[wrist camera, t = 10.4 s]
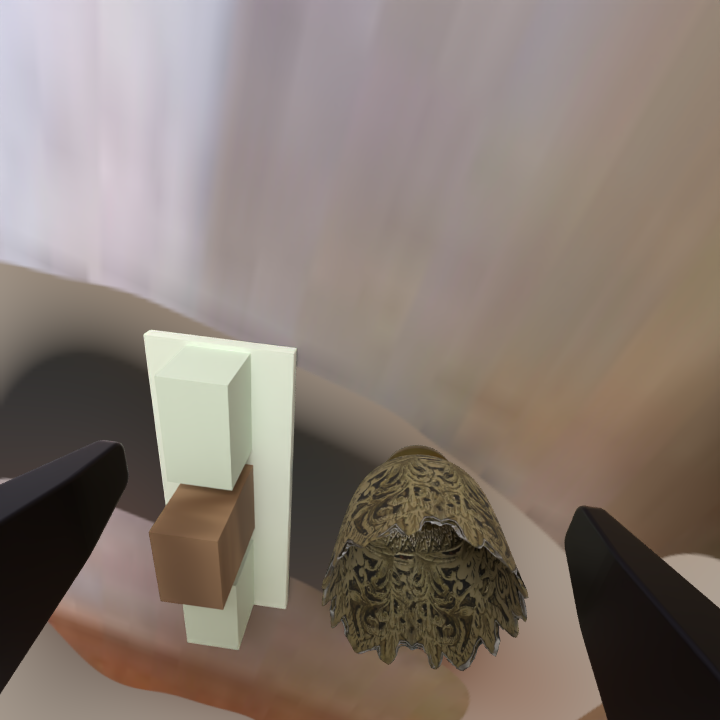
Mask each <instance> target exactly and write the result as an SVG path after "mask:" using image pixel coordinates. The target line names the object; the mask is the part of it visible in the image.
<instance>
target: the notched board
mask: <svg viewBox="0 0 720 720" xmlns="http://www.w3.org/2000/svg"><path fill="white" fill-rule="evenodd" d="M144 342H145V350H146V358H147V365H148V373H149V381H150V389H151V395H152V404H153V411H154V419H155V426H156V434H157V441H158V450H159V457H160V465H161V472H162V480H163V487H164V495H165V503H166V505H167V503H168V502H169V500H170V499H171V497H172V496H173V494H174V492H175V491H176V489H177V488H178V486H179V485H180V483H181V484H189V485H196V486H203V487H210V488H217V489H224V490H233V488H234V485H235V483H236V481H237V479H238V477H239V475H240V473H241V471H242V469H243V467H244V465H245V464H249V465H253V476H254V512H255V529H254V531H253V534H252V537H251V539H250V542H249V544H248V547H247V549H246V552H245V555H244V557H243V560H242V562H241V565H240V568H239V570H238V573H237V575H236V578H235V581H234V583H233V586H232V588H231V591H230V594H229V596H228V599H227V601H226V604H225V606H224V609H223V610H219V609H213V608H206V607H199V606H192V605H185V604H183V611H184V619H185V627H186V635H187V642H189V643H195V644H202V645H208V646H215V647H221V648H228V649H234V650H239V648H240V645H241V642H242V639H243V636H244V633H245V630H246V627H247V623H248V620H249V617H250V614H251V611H252V608H253V605H261V606H267V607H274V608H281V609H286V606H287V602H288V584H289V554H290V527H291V498H292V470H293V468H292V467H293V440H294V413H295V385H296V384H295V383H296V357H297V348H291V347H283V346H275V345H267V344H259V343H251V342H243V341H235V340H227V339H219V338H211V337H204V336H196V335H187V334H180V333H171V332H164V331H156V330H149V331H148V332H146V333H145V334H144Z"/></svg>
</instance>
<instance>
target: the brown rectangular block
mask: <svg viewBox="0 0 720 720" xmlns="http://www.w3.org/2000/svg"><path fill="white" fill-rule="evenodd" d="M254 529H255V512H254V476H253V465H249V464H245V465H244V467H243V469H242V471H241V473H240V475H239V477H238V479H237V481H236V483H235V485H234V488H233V490H224V489H217V488H210V487H203V486H196V485H189V484H181V483H180V485H179V486H178V488H177V489H176V491H175V492H174V494H173V496H172V497H171V499H170V500H169V502H168V503H167V505H166V506H165V508H164V509H163V511H162V513H161V514H160V516H159V517H158V519H157V520H156V522H155V523H154V525H153V526H152V528H151V530H150V531H149V537H150V542H151V548H152V554H153V560H154V565H155V571H156V577H157V583H158V588H159V594H160V600H161V601H164V602H171V603H178V604H185V605H192V606H199V607H206V608H213V609H219V610H223V609H224V606H225V604H226V601H227V599H228V596H229V594H230V591H231V588H232V586H233V583H234V581H235V578H236V575H237V573H238V570H239V568H240V565H241V562H242V560H243V557H244V555H245V552H246V549H247V547H248V544H249V542H250V539H251V537H252V534H253V531H254Z"/></svg>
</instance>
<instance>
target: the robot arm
mask: <svg viewBox="0 0 720 720" xmlns="http://www.w3.org/2000/svg"><path fill="white" fill-rule="evenodd" d="M127 482H128V468H127V462H126V457H125V451H124V447H123V445H122V444H121V443H119V442H113V441H106V440H100V441H97V442H94V443H92V444H90V445H88V446H85V447H83V448H81V449H79V450H76V451H74V452H72V453H70V454H67V455H66V456H63V457H61V458H59V459H56V460H54V461H52V462H50V463H47V464H45V465H43V466H41V467H38V468H36V469H34V470H32V471H29V472H27V473H25V474H23V475H20V476H18V477H16V478H14V479H11V480H9V481H7V482H5V483H2V484H0V694H1V692H2V690H3V689H4V687H5V686H6V684H7V683H8V681H9V680H10V678H11V677H12V675H13V674H14V672H15V670H16V669H17V667H18V666H19V664H20V663H21V661H22V660H23V658H24V657H25V655H26V654H27V652H28V651H29V649H30V647H31V646H32V644H33V643H34V641H35V640H36V638H37V637H38V635H39V634H40V632H41V631H42V629H43V628H44V626H45V624H46V623H47V621H48V620H49V618H50V617H51V615H52V614H53V612H54V611H55V609H56V608H57V606H58V605H59V603H60V601H61V600H62V598H63V597H64V595H65V594H66V592H67V591H68V589H69V588H70V586H71V585H72V583H73V581H74V580H75V578H76V577H77V575H78V574H79V572H80V571H81V569H82V568H83V566H84V564H85V563H86V561H87V560H88V558H89V556H90V555H91V553H92V551H93V549H94V547H95V546H96V544H97V542H98V540H99V538H100V536H101V534H102V532H103V530H104V528H105V526H106V524H107V523H108V521H109V519H110V517H111V515H112V513H113V511H114V509H115V507H116V505H117V503H118V501H119V499H120V497H121V495H122V493H123V491H124V490H125V488H126V485H127ZM565 551H566V557H567V562H568V567H569V572H570V578H571V583H572V588H573V594H574V599H575V604H576V609H577V615H578V619H579V624H580V628H581V632H582V635H583V639H584V643H585V646H586V649H587V653H588V656H589V659H590V663H591V666H592V669H593V672H594V676H595V679H596V683H597V686H598V690H599V692H600V696H601V700H602V703H603V706H604V710H605V713H606V716H607V720H720V608H719V607H717V606H716V605H715V604H714V603H713V602H712V601H710V600H709V599H708V598H707V597H706V596H704V595H703V594H702V593H701V592H700V591H699V590H697V589H696V588H695V587H694V586H693V585H692V584H690V583H689V582H688V581H687V580H686V579H685V578H683V577H682V576H681V575H680V574H679V573H677V572H676V571H675V570H674V569H673V568H672V567H671V566H669V565H668V564H667V563H666V562H665V561H664V560H662V559H661V558H660V557H659V556H658V555H657V554H655V553H654V552H653V551H652V550H651V549H649V548H648V547H647V546H646V545H645V544H644V543H642V542H641V541H640V540H639V539H638V538H637V537H635V536H634V535H633V534H632V533H631V532H630V531H628V530H627V529H626V528H625V527H624V526H623V525H621V524H620V523H619V522H618V521H617V520H616V519H614V518H613V517H612V516H611V515H610V514H609V513H607V512H606V511H605V510H603V509H601V508H597V507H590V506H580V507H578V508H577V510H576V511H575V514H574V516H573V519H572V521H571V523H570V526H569V528H568V531H567V533H566V536H565Z"/></svg>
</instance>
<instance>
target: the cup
mask: <svg viewBox="0 0 720 720" xmlns="http://www.w3.org/2000/svg"><path fill="white" fill-rule="evenodd" d="M322 588H323V598H322V606H324V605H326V604H327V603H328V602H329V600H330V599H331V607H330V616H331V627H332V628H334V627H336V626H337V625H338V623H339V622H340V621H342V623H343V625H344V631H345V635H346V637H347V639H348V641H349V642H350V644H351V646H352V648H353V650H354V651H355V652H356V653H358V654H362V653H365V652H367V651H371V650H377V652H378V656H379V658H380V659H381V660H382V661H383V662H385V663H387V664H388V665H389V664H391V663H392V662H393V661H394V660H395V657H396V656H397V652H398V649H399V648H400V646H406V647H408V648H409V649H410V650H414V649H417V648H418V647H421V648H423V650H424V652H425V653H426V654H427V656H428V660H429V664H430V666H431V668H433V669H437V668H438V667H439V666H440V665H441V662H442V659H443V655H444V656H445V657H446V658H447V660H448V661H449V662H450V663H452V665H453V666H455V667H456V669H458V670H460V671H464V670H465V669H467V668H468V667H469V666H470V665H471V663H472V662H473V660H474V658H475V656H476V653H477V649H478V647H479V646H480V645H481V644H482V643H483V644H484V645H485V648H486V649H488V651H489V652H490V653H491V654H492V655H494V656H496V655H497V652H498V648H499V644H500V637H499V626H500V627H501V628H502V629H505V630H506V631H507V632H508V633H509V634H510V635H511V636H512V637H515V638H516V637H517V635H518V631H519V628H518V620H519V618H521V619H523V620H524V621H526V620H527V612H526V605H525V601H524V599H525V598H528V593H527V589H526V587H525V585H524V583H523V581H522V579H521V576H520V574H519V572H518V569H517V567H516V564H515V562H514V559H513V557H512V554H511V551H510V549H509V546H508V544H507V542H506V539H505V537H504V534H503V532H502V529H501V527H500V524H499V522H498V520H497V517H496V515H495V513H494V511H493V509H492V507H491V505H490V503H489V501H488V499H487V497H486V495H485V494H484V492H483V491H482V490H481V488H480V487H479V485H478V484H477V483H476V482H475V481H474V479H473V478H472V477H471V476H469V474H467V473H466V472H465V471H464V470H462V469H461V468H460V467H458V466H456V465H455V464H453V463H451V462H449V461H448V460H447V459H446V458H445V457H444V456H443V455H442V454H441V453H440V452H438V451H437V450H435V449H433V448H430V447H426V446H421V445H413V446H408V447H404V448H401V449H399V450H398V451H396V452H395V453H393V454H392V455H391V456H390V458H389V459H388V460H387V461H386V462H385V463H383V464H381V465H380V466H378V467H376V468H375V469H374V470H373V471H371V472H370V473H369V474H368V475H367V476H366V477H365V479H364V480H363V481H362V482H361V483H360V485H359V486H358V488H357V490H356V492H355V493H354V495H353V497H352V499H351V502H350V504H349V506H348V509H347V511H346V514H345V517H344V519H343V522H342V526H341V529H340V531H339V535H338V538H337V541H336V544H335V547H334V551H333V554H332V557H331V560H330V564H329V567H328V570H327V573H326V575H325V578H324V581H323V584H322ZM399 644H406V645H400V646H399V647H398V645H399ZM417 646H418V647H417ZM397 647H398V648H397ZM421 648H419V649H421Z"/></svg>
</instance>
